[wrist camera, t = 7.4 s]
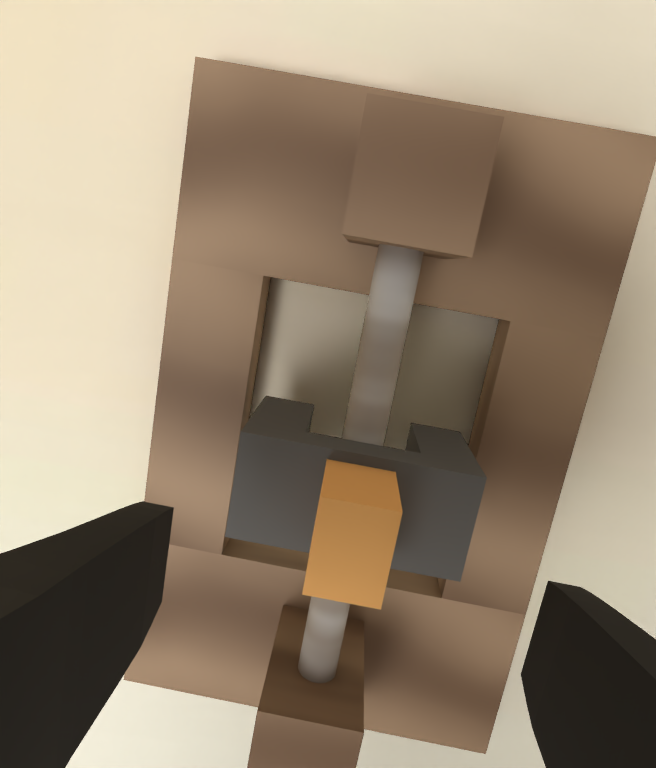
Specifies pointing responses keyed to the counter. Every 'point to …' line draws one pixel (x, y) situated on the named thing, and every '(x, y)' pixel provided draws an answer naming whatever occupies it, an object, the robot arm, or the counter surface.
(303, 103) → the brown wooden frame
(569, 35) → the counter surface
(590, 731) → the robot arm
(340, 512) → the clip
